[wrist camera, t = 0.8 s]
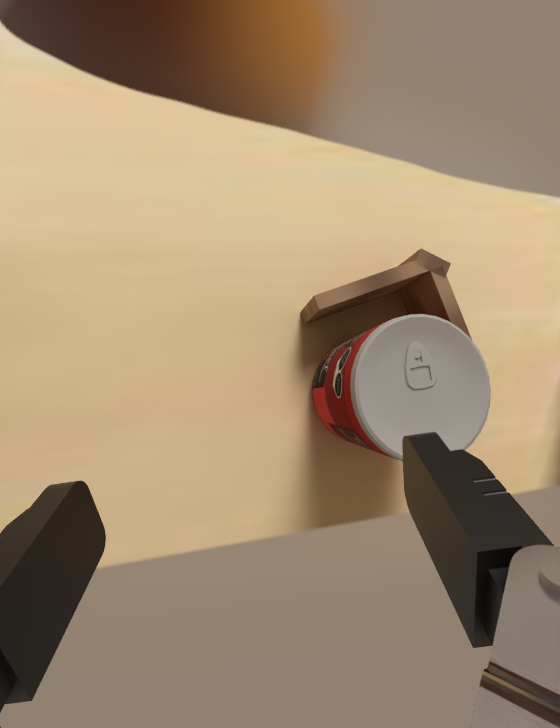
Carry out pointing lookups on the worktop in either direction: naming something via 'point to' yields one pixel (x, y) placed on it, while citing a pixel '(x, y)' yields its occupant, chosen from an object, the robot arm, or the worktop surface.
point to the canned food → (404, 385)
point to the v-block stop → (414, 280)
